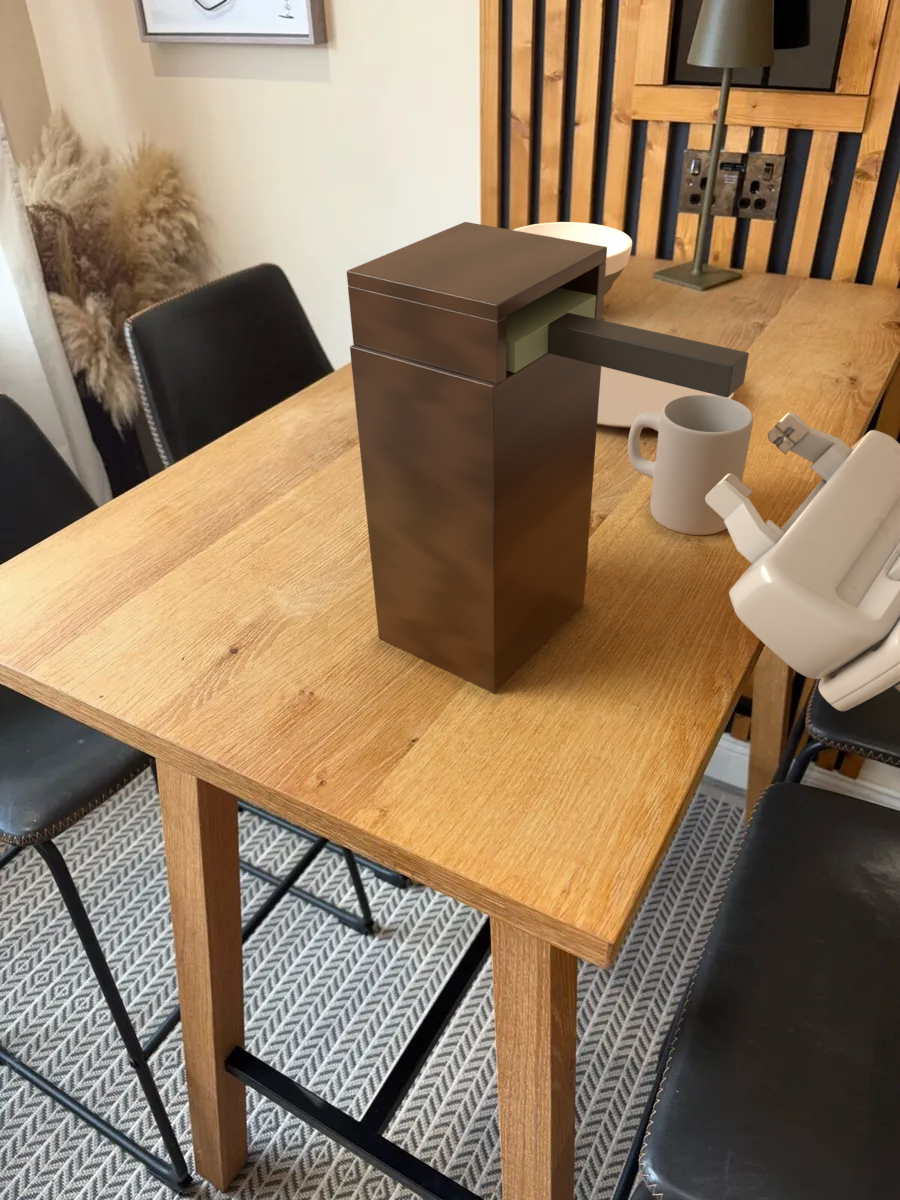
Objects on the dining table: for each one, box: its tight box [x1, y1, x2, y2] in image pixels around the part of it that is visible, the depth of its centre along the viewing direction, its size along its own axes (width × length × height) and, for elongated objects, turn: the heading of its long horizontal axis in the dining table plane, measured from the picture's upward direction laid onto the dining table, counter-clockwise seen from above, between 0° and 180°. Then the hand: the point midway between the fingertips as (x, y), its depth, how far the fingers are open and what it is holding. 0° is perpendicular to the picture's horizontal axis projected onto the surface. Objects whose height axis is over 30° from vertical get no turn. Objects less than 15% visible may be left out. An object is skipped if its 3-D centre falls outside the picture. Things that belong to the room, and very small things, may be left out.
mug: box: [627, 395, 754, 536], centre depth 91 cm, size 12×8×11 cm
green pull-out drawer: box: [506, 288, 750, 398], centre depth 60 cm, size 22×10×2 cm, turn 53°
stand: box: [346, 221, 607, 694], centre depth 71 cm, size 12×14×31 cm
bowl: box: [513, 221, 633, 296], centre depth 138 cm, size 20×20×10 cm
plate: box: [597, 366, 736, 429], centre depth 115 cm, size 26×26×2 cm
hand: (748, 452), depth 57 cm, fingers open, 8 cm apart
